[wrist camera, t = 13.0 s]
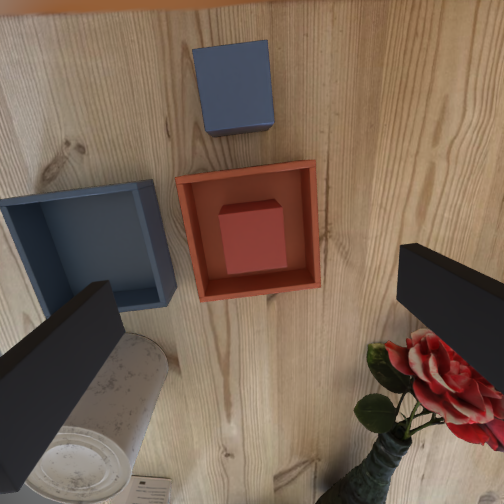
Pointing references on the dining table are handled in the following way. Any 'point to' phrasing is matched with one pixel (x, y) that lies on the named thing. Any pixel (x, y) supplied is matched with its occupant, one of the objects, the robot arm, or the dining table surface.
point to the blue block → (235, 88)
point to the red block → (253, 236)
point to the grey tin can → (104, 427)
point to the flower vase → (429, 397)
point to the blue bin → (93, 244)
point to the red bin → (247, 190)
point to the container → (144, 491)
